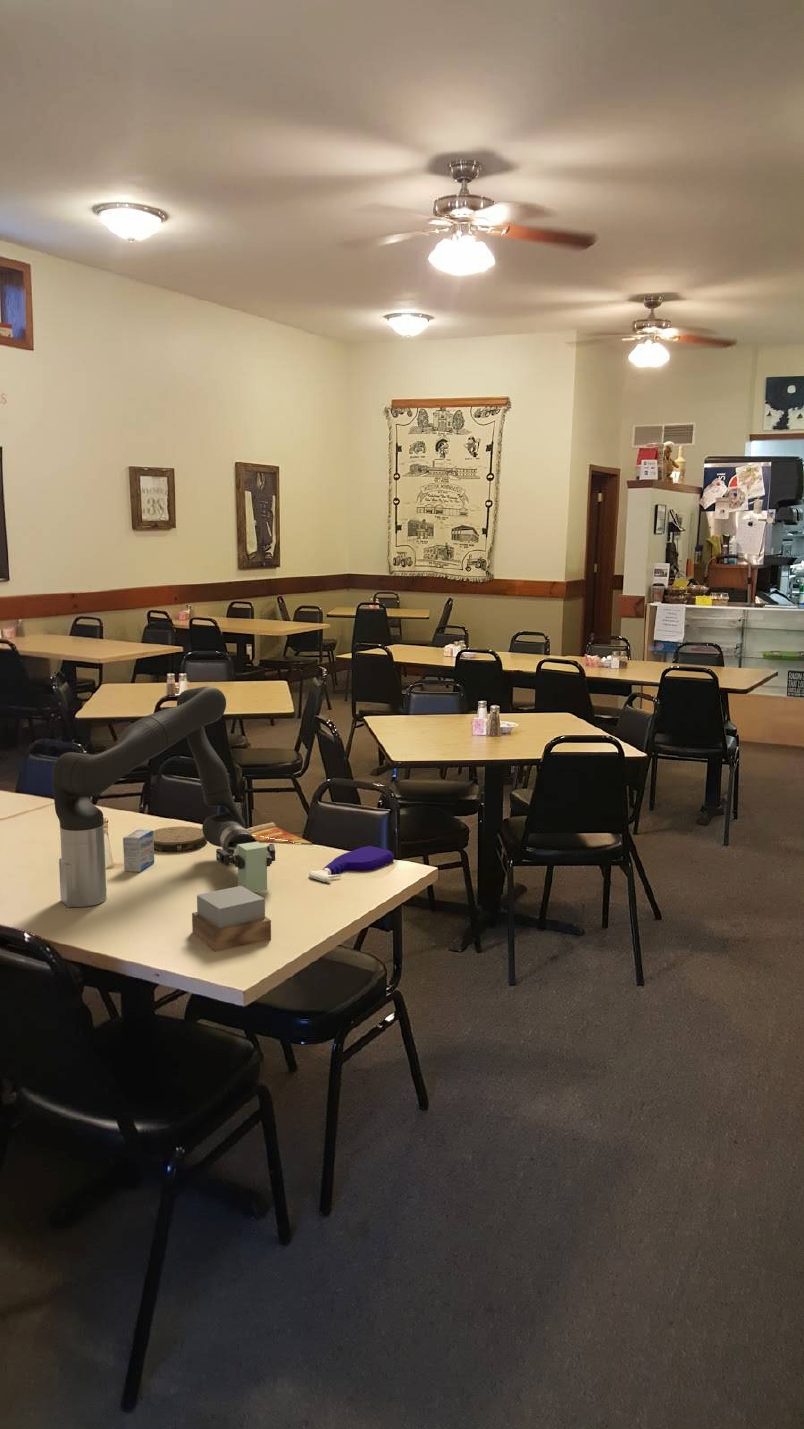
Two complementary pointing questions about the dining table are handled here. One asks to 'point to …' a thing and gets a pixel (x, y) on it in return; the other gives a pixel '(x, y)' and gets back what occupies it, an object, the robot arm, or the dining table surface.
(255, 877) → the sage pillar block
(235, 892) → the slate grey block
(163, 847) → the brown round disc
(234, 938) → the walnut base block
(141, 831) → the medicine box
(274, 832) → the pizza slice
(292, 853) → the dining table surface
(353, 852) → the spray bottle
